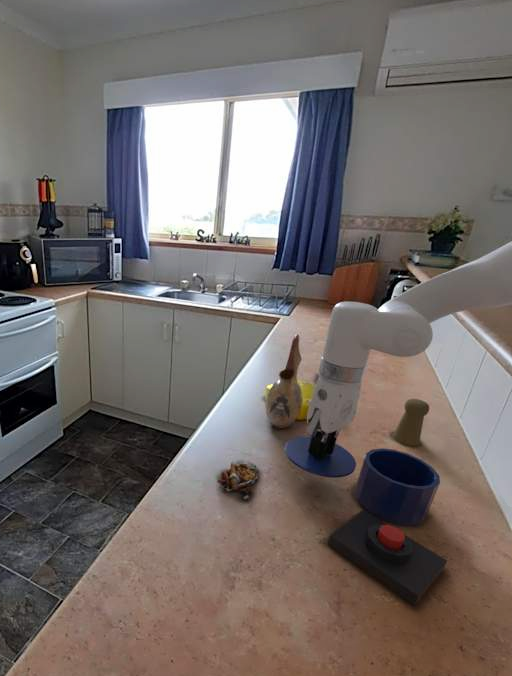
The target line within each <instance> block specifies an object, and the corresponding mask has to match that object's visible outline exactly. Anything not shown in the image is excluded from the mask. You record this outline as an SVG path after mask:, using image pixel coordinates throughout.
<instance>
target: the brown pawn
mask: <svg viewBox="0 0 512 676" xmlns="http://www.w3.org/2000/svg"><path fill="white" fill-rule="evenodd" d="M429 411H430V406H429V404H428V403H427V402H426V401H424V400H422V399H419V398H409V399H408V400H406V401H405V404H404V413H403V415H402V416H401V418H400V420H399V422H398V425H397V426H396V428H395V430H394V432H393V434H392V438H393V439H394V440H395V441H397V442H398V443H401V444H403V445H406V446H412V447H414V446H415V447H416V446H419V445H420V442H421V436H422V431H423V430H422V429H423V425H424V419H425V416H427V415H428V413H429Z"/></svg>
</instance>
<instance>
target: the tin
mask: <svg viewBox="0 0 512 676" xmlns="http://www.w3.org/2000/svg"><path fill="white" fill-rule="evenodd" d="M360 468H361V469H360V471H359V474H358V478H357V482H356V485H355V489H354V496H355V499H356V501H357V502H358V504H360V506H361V507H362V508H364V509H365V511H366V512H368V513H369V514H371V515H373V516H374V517H376V518H378V519H380V520H383V521H386V522H388V523H391V524H395V525H398V526H399V525H400V526H408V527H409V526H416V525H420V524H421V523H423V522H424V521H425V519H426V518H427V516H428V514H429V512H430V509H431V506H432V504H433V501H434V499H435V496H436V494H437V491H438V489H439V487H440V484H441V479H440V475H439V472H437V471H436V469H435V468H434V467H433V466H432V465H430V464H429V463H427V462H426V461H424V460H423V459H421V458H419V457H417V456H414V455H412V454H410V453H407V452H404V451H400V450H397V449H391V448H385V447H382V448H373V449H370V450H369V451H367V452H365V455H364V458H363V462H362V464H361V467H360Z"/></svg>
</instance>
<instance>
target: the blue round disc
mask: <svg viewBox="0 0 512 676" xmlns="http://www.w3.org/2000/svg"><path fill="white" fill-rule="evenodd" d="M318 431H319V432H321V433H322V434H323V431H322V430H318ZM311 438H312V437H311V436H298V437H294V438H291V439H289V440H288V441H287V442H286V443H285V446H284V453H285V455H286V457H287V459H288V460H289V461H290V462H291V463H293V464H294V465H295V466H296V467H298V468H299V469H300V470H301V469H302V470H303V471H304V472H305V471H306V472H307V473H309V474H312V475H316V476H319V477H325V478H332V479H333V478H336V479H337V478H345V477H347V476H350V475H352V474H353V473H354V472H355V471H356V467H357V463H356V462H357V461H356V459H355V458H354V457H355V456H353V454H352V453H351V452H350V451H348V450H347V449H346V448H344V447H343V446H341V445H339V444H338V443H335V447H334V450H333V454H331V455H329V454H327V451H328V447H329V443H330V439H331V433H328V436H327V440H326V442H327V443H328V444H327V448H326V452H325V456H324V459H322V460H320V459H318V458H316V457H314V456H313V455H311V454H309V453H308V450H309V446H310V442H311Z"/></svg>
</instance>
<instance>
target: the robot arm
mask: <svg viewBox="0 0 512 676" xmlns="http://www.w3.org/2000/svg"><path fill="white" fill-rule="evenodd" d="M507 306H512V240H511V241H509V242H508V243H506V244H504V245H502V246H500V247H498V248H496V249H494V250H493V251H491V252H489V253H487V254H485V255H483V256H481V257H480V258H476V259H475V260H472V261H470V262H467V263H464V264H462V265H460V266H457V267H455V268H453V269H451V270H448V271H446V272H443V273H441V274H438V275H436V276H433V277H430V278H429V279H427V280H425V281H422V282H421V283H418V284H416V285H414V286H413V287H411V288H409V289H407V290H405V291H404V292H402V293H400V294H398V295H396V296H394V297H393V298H391V299H389V300H388V301H385V303H383V304H382V305H381V306H380V307H379V308H377V307H376V306H374V305H371V304H368V303H364V302H359V301H340V302H338V303H336V304H335V305H334V307H333V308H332V311H331V315H330V319H329V323H328V328H327V333H326V338H325V342H324V345H323V350H322V355H321V358H320V359H321V360H320V364H319V368H318V371H317V376H318V375H319V376H320V377H319V378H318V381H317V380H316V384H315V385H314V386H315V389H314V392H313V395H312V399H311V402H310V406H309V410H308V415H307V419H306V423H307V425H308V427H307V428H306V431H305V434H307V435H308V436H310V437H312V438H311V442H310V446H309V450H308V453H309V454H311V455H313V456H314V457H316V458H318V459H320V460H322V459H324V456H325V452H326V448H327V444H328V443H327V442H326V440H327V436H328V433H331V439H330V443H329V447H328V451H327V454H329V455H331V454H333V450H334V447H335V444H337V439H338V436H339V434H340V431H341V429H343V428H344V427H346V426H348V425H349V424H351V423H352V422H353V421H354V420H355V417H356V413H357V408H358V403H359V398H360V393H361V388H362V381H363V378H364V374H365V370H366V367H367V363H368V360H369V356H370V352H371V350H373V351H376V352H380V353H383V354H387V355H390V356H394V357H399V358H411V357H414V356H418V355H420V354H422V353H423V352H425V351H426V350H427V349H428V348H429V347H430V345H431V343H432V342H433V338H434V337H433V334H434V333H433V328H432V326H431V323H434V322H435V321H438V320H440V319H442V318H445V317H447V316H450V315H453V314H457V313H461V312H465V311H470V310H481V309H495V308H503V307H507ZM321 430H322V431H323V434H322V433H321V432H319V431H321Z"/></svg>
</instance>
